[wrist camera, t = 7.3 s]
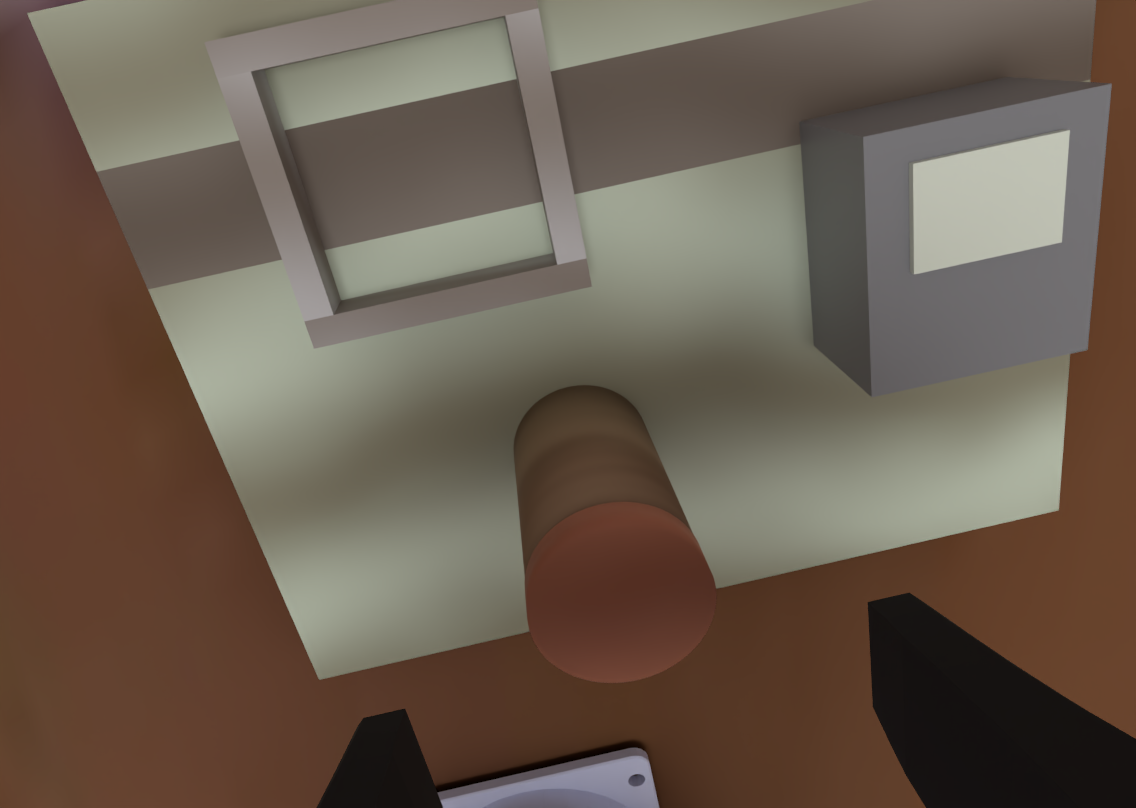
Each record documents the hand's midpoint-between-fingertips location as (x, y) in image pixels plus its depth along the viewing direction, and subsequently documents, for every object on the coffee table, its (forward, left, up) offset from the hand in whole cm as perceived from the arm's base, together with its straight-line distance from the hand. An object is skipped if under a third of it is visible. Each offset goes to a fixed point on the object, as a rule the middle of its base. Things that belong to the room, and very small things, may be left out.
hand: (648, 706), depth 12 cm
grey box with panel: (+4, -8, -8) cm, 12 cm away
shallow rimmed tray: (+3, -2, -9) cm, 10 cm away
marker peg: (0, 0, -8) cm, 8 cm away
